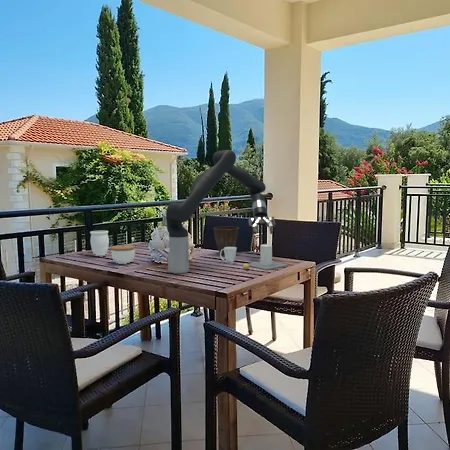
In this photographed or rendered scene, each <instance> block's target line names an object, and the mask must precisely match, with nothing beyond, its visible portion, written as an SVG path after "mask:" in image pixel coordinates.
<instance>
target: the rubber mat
mask: <svg viewBox="0 0 450 450" xmlns="http://www.w3.org/2000/svg"><path fill="white" fill-rule="evenodd" d="M247 264H248V265H249V268H254V269H257V270H263V271H269V270H275V269H280V267H281V268H286V267H289V266H288V265H289V264H288V263H287V264H286V263H282V262H276V261H272V265H270V266H263V265H261V261H256V262H250V263H247ZM285 266H286V267H285Z"/></svg>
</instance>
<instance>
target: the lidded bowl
mask: <svg viewBox="0 0 450 450" xmlns="http://www.w3.org/2000/svg"><path fill="white" fill-rule="evenodd" d="M110 251H111V258H112V260H113V262H114V263H116V264H117V263H130V262H131V263H132V261H133V260H134V258H135V255H136V246H135V244H125V242H122V243H121V244H120V245H112V246H111V247H110ZM131 263H130V264H131Z"/></svg>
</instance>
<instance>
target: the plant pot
mask: <svg viewBox="0 0 450 450" xmlns="http://www.w3.org/2000/svg"><path fill="white" fill-rule="evenodd" d="M239 230H240V227H239V226H229V225H228V226H227V225H225V226H214V227H213V234H214V239H215V243H216V246H217V250H218V253H219V254H220V251H221V250H222V249H224V248H225V247H236V245H237V240H238V236H239ZM221 256H225V253H224V250H222V252H221Z"/></svg>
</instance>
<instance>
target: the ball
mask: <svg viewBox="0 0 450 450" xmlns="http://www.w3.org/2000/svg"><path fill="white" fill-rule="evenodd" d="M248 264H249V263H243V264H242V268H243V269H244V270H249V268H250V267H249V265H248Z"/></svg>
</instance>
